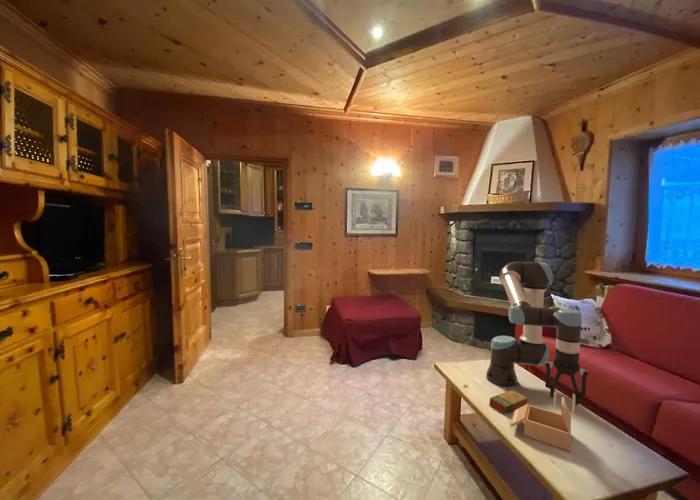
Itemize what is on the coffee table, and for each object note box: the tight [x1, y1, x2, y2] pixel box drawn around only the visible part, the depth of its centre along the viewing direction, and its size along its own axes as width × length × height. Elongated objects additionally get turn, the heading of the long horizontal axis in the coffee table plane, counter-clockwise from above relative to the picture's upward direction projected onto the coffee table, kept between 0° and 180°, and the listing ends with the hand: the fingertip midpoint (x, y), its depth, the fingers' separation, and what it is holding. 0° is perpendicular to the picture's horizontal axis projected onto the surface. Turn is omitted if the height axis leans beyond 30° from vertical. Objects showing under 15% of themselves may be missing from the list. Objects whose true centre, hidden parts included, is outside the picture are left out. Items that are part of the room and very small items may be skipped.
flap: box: [560, 396, 571, 432], centre depth 119 cm, size 13×1×7 cm, turn 145°
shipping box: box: [509, 403, 572, 453], centre depth 125 cm, size 13×20×8 cm, turn 55°
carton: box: [488, 389, 529, 415], centre depth 144 cm, size 8×16×4 cm, turn 117°
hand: (563, 408), depth 120 cm, fingers open, 5 cm apart
